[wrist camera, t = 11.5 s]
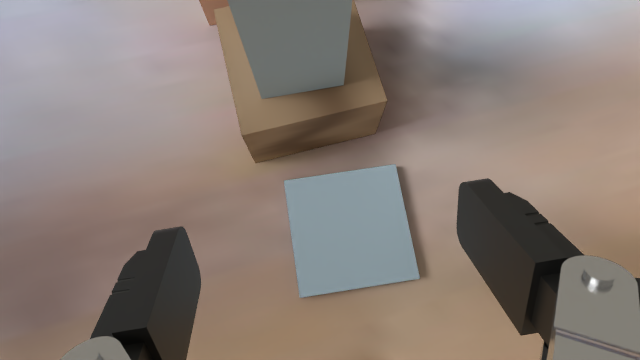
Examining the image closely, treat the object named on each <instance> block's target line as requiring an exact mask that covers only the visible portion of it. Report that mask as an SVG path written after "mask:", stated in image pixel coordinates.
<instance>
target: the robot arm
mask: <svg viewBox="0 0 640 360" xmlns="http://www.w3.org/2000/svg"><path fill="white" fill-rule="evenodd" d="M457 235H458V239H459V241H460V244H461V246H462V248H463V249H464V251H465V252H466V254H467V255H468V257H469V258H470V260H471V261H472V263H473V264H474V266H475V267H476V269H477V270H478V272H479V273H480V275H481V276H482V278H483V279H484V281H485V282H486V284H487V285H488V287H489V288H490V290H491V291H492V293H493V294H494V296H495V297H496V299H497V300H498V302H499V303H500V305H501V306H502V308H503V309H504V311H505V312H506V314H507V315H508V317H509V318H510V320H511V321H512V323H513V324H514V326H515V327H516V329H517V330H518V332H519V333H520V335H527V334H533V333H539V334H540V336H541V337H542V338H543V340H544V341H543V345H542V349H541V356H540V360H640V278H634V277H633V276H632V274H631V273H630V272H628V271H627V270H626V269H625V268H623V267H622V266H620V265H618V264H616V263H614V262H612V261H610V260H607V259H604V258H600V257H595V256H585V255H583V254H582V253H581V252H580V251H579V250H578V249H577V248H576V247H575V246H574V245H573V244H572V243H571V242H570V241H569V240H568V239H567V238H566V237H565V236H563V235H562V234H561V233H560V232H559V231H558V230H557V229H556V228H555V227H554V226H553V225H552V224H551V223H550V224H549V223H548V220H547V219H546V218H545V217H543V216H542V215H541V214H539V212H538V211H537V210H536V209H535V208H534V207H533V206H532V205H531V204H530V203H529V202H528V201H526V200H524V199H522V198H520V197H518V196H516V195H514V194H512V193H510V192H508V193H503V192H502V191H501V190H500V189H499V188H498V187H497V186H496V185H495V184H494V183H493V182H492V181H491V180H490V179H481V180H475V181H468V182H463V183H461V184H460V187H459V196H458V211H457ZM117 280H118V282H117V283H116V284H115V286H114V288H113V290H112V295H110V297H109V299H108V301H107V303H106V305H105V307H104V309H103V312H102V314H101V316H100V318H99V320H98V322H97V325H96V327H95V329H94V331H93V333H92V335H91V337H90V339H89V340H87V341H85V342H82V343H81V344H79V345H77V346H76V347H74V348H73V349H71V350H70V351H69V352H68V353H66V354H65V355H64V356H63V357H62V358H61V359H60V360H186V357H187V353H188V348H189V343H190V338H191V333H192V328H193V323H194V318H195V313H196V308H197V304H198V299H199V294H200V288H201V277H200V271H199V267H198V264H197V261H196V258H195V255H194V252H193V250H192V247H191V244H190V241H189V238H188V235H187V233H186V230H185V229H184V228H183V227H175V228H169V229H163V230H156V231H154V232H153V234H152V237H151V239H150V241H149V244H148V246H147V249H146V250H143V251H137V253H136V254H135V255H134V256H133V257H132V258H131V259H130V260H129V261H128V262H127V263H126V264H125V265H124V267H123V269H122V271H121V273H120V275H119V277H118V279H117Z"/></svg>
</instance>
